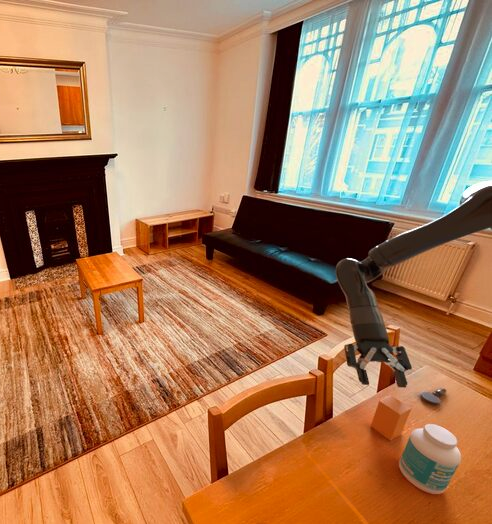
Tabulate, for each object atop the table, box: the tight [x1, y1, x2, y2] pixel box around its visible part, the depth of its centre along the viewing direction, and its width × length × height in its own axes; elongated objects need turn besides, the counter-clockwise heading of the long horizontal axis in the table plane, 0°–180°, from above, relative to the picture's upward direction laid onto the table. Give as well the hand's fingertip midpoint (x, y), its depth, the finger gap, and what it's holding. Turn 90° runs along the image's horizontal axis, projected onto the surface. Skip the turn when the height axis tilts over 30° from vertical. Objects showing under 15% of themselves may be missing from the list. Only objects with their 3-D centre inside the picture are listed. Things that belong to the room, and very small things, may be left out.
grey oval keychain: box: [419, 387, 448, 406], centre depth 79 cm, size 9×4×1 cm, turn 112°
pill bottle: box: [398, 423, 462, 495], centre depth 58 cm, size 8×7×14 cm
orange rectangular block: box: [370, 394, 412, 442], centre depth 69 cm, size 4×4×9 cm
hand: (383, 386), depth 72 cm, fingers open, 8 cm apart
